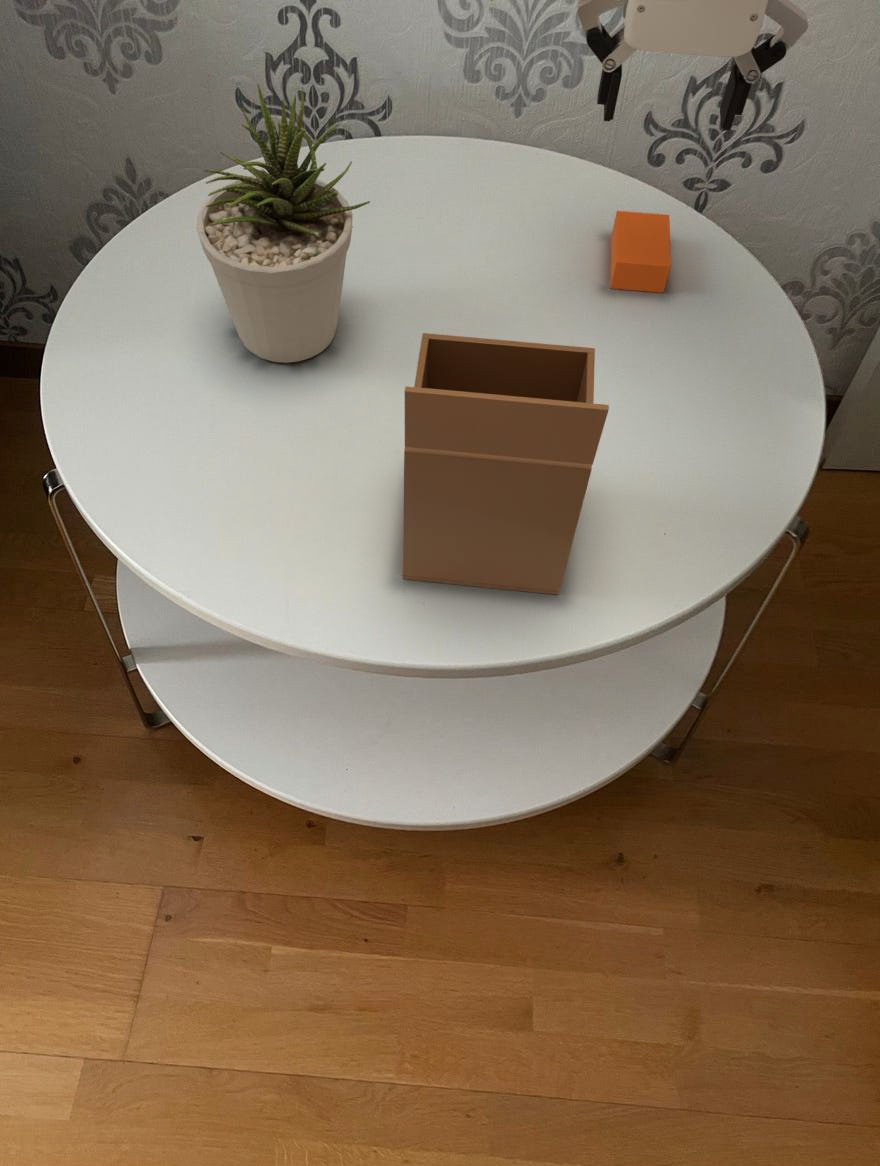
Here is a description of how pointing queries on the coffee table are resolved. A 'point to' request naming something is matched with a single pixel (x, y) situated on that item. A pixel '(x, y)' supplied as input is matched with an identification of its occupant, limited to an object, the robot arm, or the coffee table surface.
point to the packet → (640, 252)
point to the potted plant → (279, 245)
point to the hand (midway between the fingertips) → (666, 116)
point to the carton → (494, 474)
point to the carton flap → (503, 425)
